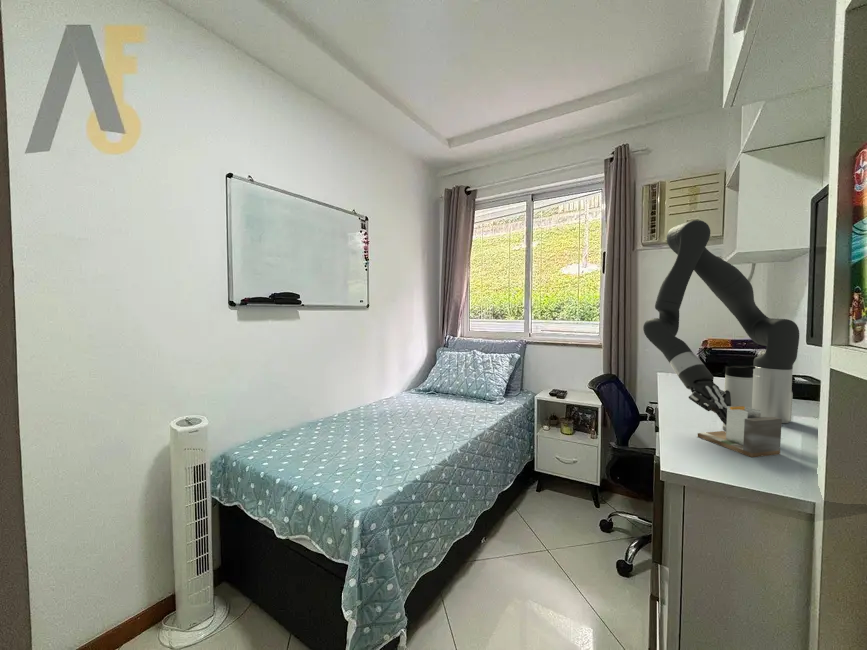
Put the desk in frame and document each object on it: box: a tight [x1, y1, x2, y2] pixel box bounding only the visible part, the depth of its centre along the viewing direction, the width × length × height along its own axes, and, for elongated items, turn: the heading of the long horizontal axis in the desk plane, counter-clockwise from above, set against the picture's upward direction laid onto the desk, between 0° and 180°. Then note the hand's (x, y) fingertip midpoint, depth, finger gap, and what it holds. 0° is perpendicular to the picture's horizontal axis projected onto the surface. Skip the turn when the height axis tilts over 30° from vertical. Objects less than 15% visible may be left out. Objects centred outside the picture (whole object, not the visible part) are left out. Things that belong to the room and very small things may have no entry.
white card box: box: [725, 405, 761, 445], centre depth 91 cm, size 5×6×10 cm
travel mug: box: [722, 365, 755, 432], centre depth 103 cm, size 6×7×20 cm
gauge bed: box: [696, 416, 783, 458], centre depth 93 cm, size 14×9×9 cm, turn 12°
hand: (730, 423), depth 95 cm, fingers closed
